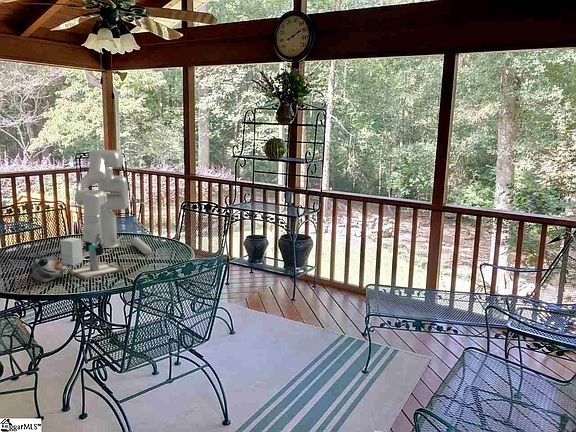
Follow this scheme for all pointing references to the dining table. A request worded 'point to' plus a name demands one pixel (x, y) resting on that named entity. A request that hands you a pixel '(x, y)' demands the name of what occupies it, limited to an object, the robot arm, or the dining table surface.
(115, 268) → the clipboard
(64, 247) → the supplement box
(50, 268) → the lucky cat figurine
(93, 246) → the marker
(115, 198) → the robot arm
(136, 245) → the tube
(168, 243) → the dining table surface
